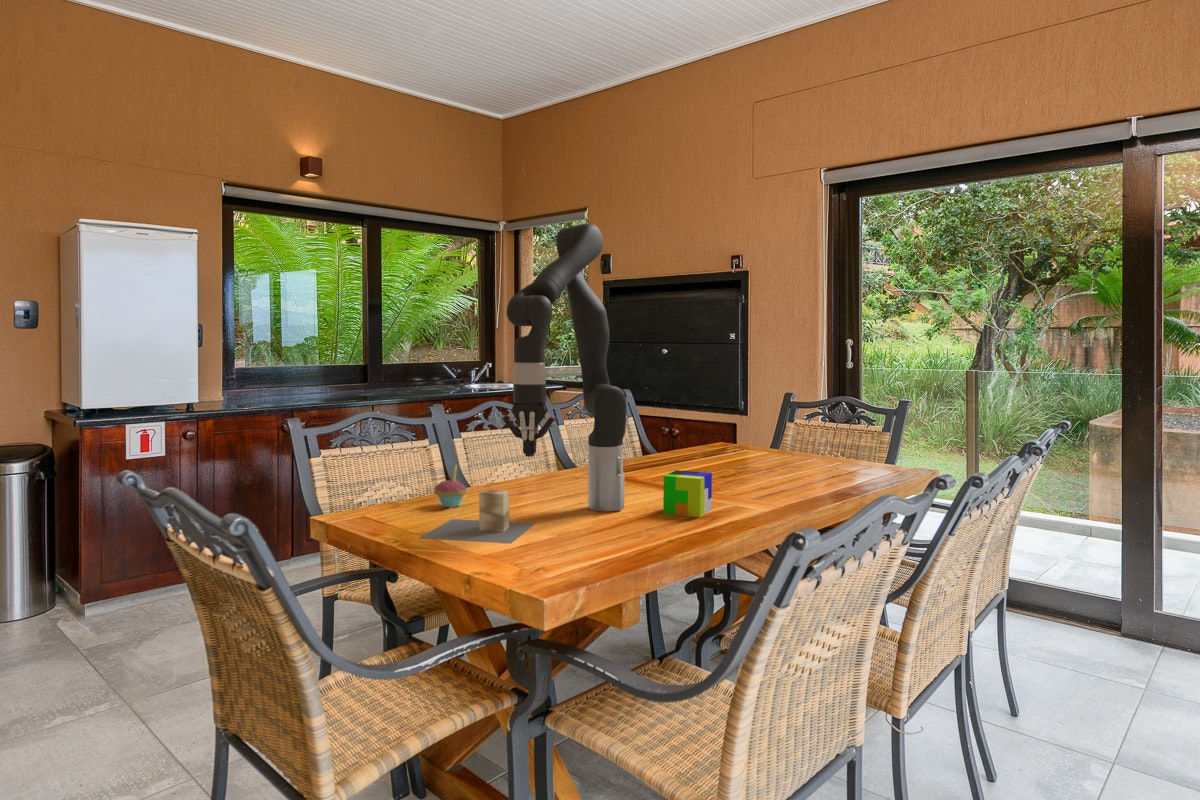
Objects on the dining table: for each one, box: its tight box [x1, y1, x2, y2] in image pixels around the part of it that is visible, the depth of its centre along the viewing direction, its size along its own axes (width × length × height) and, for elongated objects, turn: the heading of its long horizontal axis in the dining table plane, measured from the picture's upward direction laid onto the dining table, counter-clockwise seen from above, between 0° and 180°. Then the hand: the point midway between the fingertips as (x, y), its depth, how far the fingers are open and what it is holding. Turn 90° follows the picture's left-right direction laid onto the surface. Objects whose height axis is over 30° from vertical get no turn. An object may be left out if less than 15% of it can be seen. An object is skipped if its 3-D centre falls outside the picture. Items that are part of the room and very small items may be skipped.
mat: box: [418, 518, 537, 544], centre depth 181 cm, size 22×19×1 cm
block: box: [478, 489, 510, 532], centre depth 182 cm, size 6×4×9 cm
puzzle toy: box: [662, 469, 713, 518], centre depth 202 cm, size 10×10×10 cm
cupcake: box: [433, 462, 468, 508], centre depth 209 cm, size 9×8×12 cm
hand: (529, 456), depth 179 cm, fingers closed
